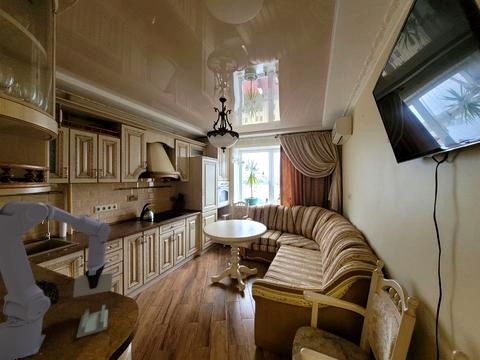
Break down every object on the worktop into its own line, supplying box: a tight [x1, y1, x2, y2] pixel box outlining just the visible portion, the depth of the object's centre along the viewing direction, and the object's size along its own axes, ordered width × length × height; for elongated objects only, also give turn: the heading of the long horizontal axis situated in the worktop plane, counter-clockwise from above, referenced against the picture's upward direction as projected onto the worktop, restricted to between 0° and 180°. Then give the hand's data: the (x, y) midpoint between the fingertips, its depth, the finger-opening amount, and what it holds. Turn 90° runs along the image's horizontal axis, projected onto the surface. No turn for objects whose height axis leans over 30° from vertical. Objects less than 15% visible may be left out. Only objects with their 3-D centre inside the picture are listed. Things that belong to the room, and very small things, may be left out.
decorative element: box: [35, 278, 60, 306], centre depth 84 cm, size 22×5×6 cm, turn 60°
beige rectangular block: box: [72, 270, 114, 298], centre depth 76 cm, size 12×2×7 cm, turn 119°
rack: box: [76, 304, 109, 339], centre depth 68 cm, size 8×11×3 cm
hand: (93, 286), depth 76 cm, fingers closed on beige rectangular block, 2 cm apart
